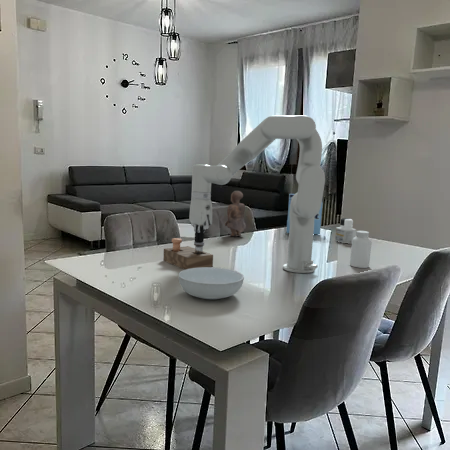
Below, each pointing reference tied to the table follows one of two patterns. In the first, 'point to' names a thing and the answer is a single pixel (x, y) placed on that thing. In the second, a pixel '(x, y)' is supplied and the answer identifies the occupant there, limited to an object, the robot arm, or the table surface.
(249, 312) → the table surface
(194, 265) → the block
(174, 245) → the rust plug
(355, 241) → the pill bottle
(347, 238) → the container
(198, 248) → the plug
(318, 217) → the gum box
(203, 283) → the serving bowl
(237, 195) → the clay figurine
